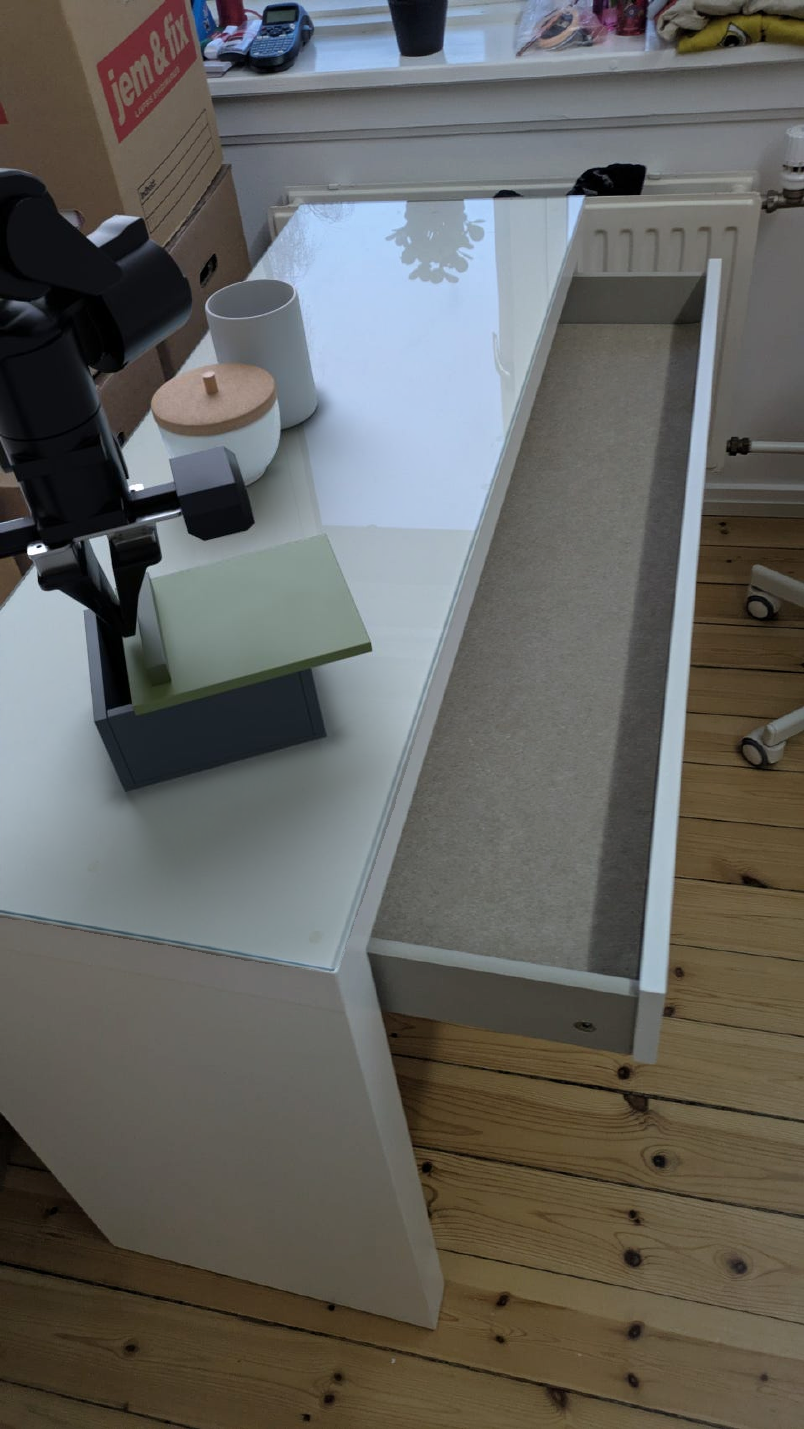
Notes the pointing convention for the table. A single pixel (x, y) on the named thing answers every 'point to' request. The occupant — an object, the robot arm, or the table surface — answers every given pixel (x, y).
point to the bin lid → (240, 624)
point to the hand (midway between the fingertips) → (129, 632)
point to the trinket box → (221, 414)
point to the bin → (192, 718)
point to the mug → (266, 340)
